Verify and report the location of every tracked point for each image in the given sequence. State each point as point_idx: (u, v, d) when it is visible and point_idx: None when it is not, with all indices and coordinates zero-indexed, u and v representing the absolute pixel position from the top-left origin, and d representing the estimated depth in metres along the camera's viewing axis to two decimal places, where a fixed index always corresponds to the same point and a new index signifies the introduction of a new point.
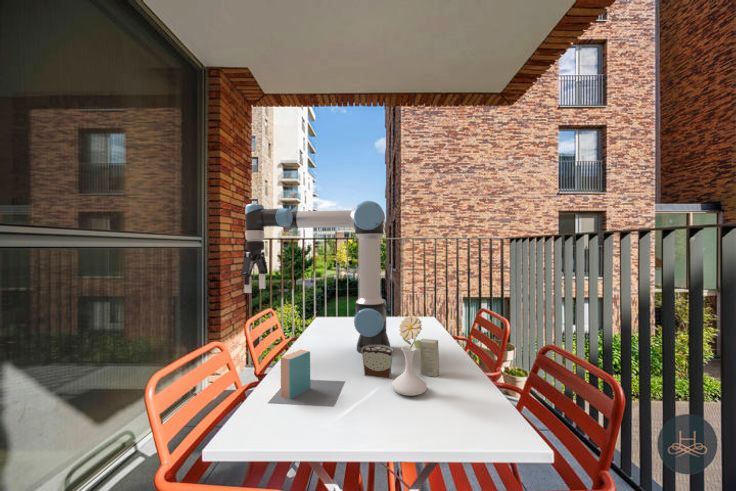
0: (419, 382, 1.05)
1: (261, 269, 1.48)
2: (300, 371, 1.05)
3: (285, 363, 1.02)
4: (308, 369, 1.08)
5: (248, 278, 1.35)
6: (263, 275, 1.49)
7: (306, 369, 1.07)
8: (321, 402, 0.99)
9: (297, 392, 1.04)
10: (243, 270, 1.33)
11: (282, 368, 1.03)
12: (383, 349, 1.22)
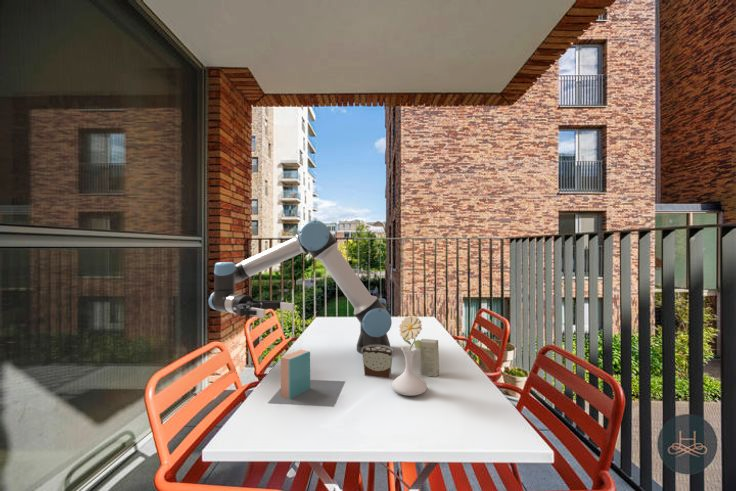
0: (419, 382, 1.05)
1: (274, 305, 1.26)
2: (300, 371, 1.05)
3: (285, 363, 1.02)
4: (308, 369, 1.08)
5: (250, 310, 1.13)
6: (281, 304, 1.25)
7: (306, 369, 1.07)
8: (321, 402, 0.99)
9: (297, 392, 1.04)
10: (239, 313, 1.14)
11: (282, 368, 1.03)
12: (383, 349, 1.22)
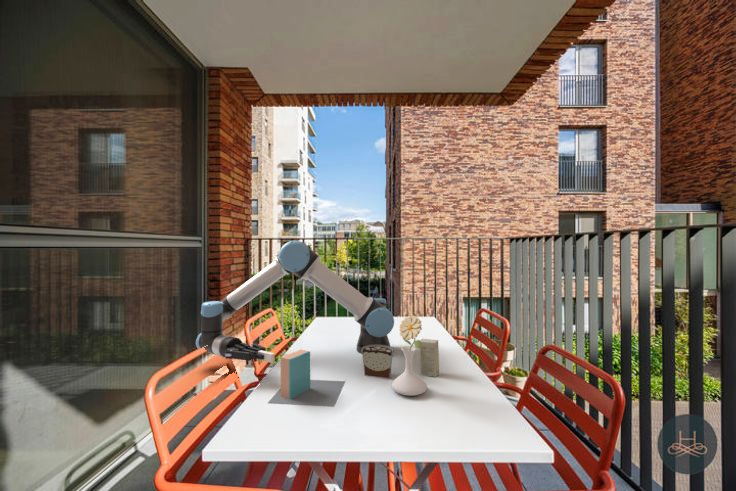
0: (419, 382, 1.05)
1: None
2: (300, 371, 1.05)
3: (285, 363, 1.02)
4: (308, 369, 1.08)
5: (257, 353, 1.13)
6: None
7: (306, 369, 1.07)
8: (321, 402, 0.99)
9: (297, 392, 1.04)
10: (245, 358, 1.13)
11: (282, 368, 1.03)
12: (383, 349, 1.22)
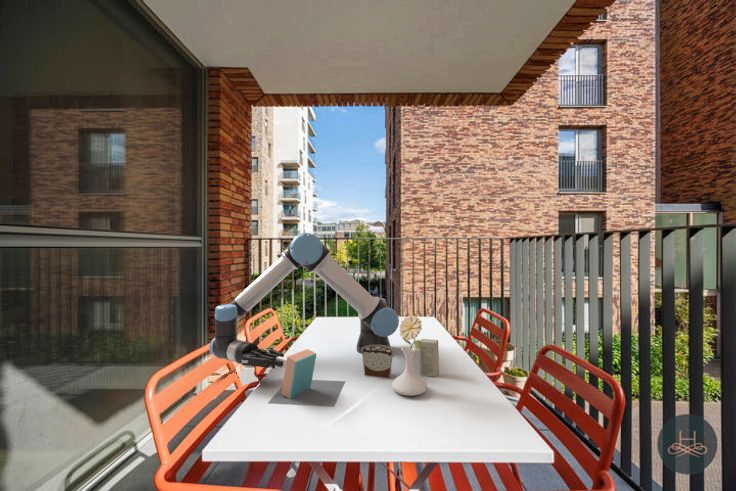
0: (419, 382, 1.05)
1: None
2: (304, 372, 1.04)
3: (291, 364, 1.01)
4: (311, 370, 1.07)
5: (276, 360, 1.08)
6: None
7: (309, 370, 1.06)
8: (321, 402, 0.99)
9: (297, 392, 1.03)
10: (263, 364, 1.07)
11: (287, 368, 1.02)
12: (383, 349, 1.22)
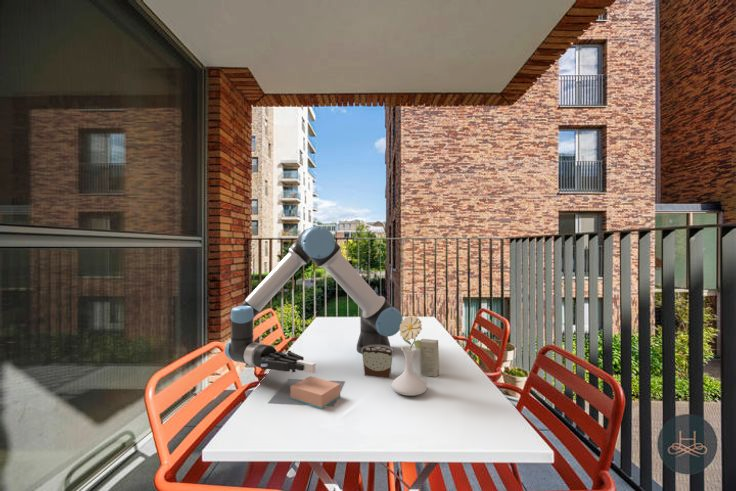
0: (419, 382, 1.05)
1: None
2: None
3: (317, 400, 0.96)
4: None
5: (296, 363, 1.04)
6: None
7: None
8: None
9: None
10: (283, 368, 1.03)
11: (312, 395, 0.97)
12: (383, 349, 1.22)
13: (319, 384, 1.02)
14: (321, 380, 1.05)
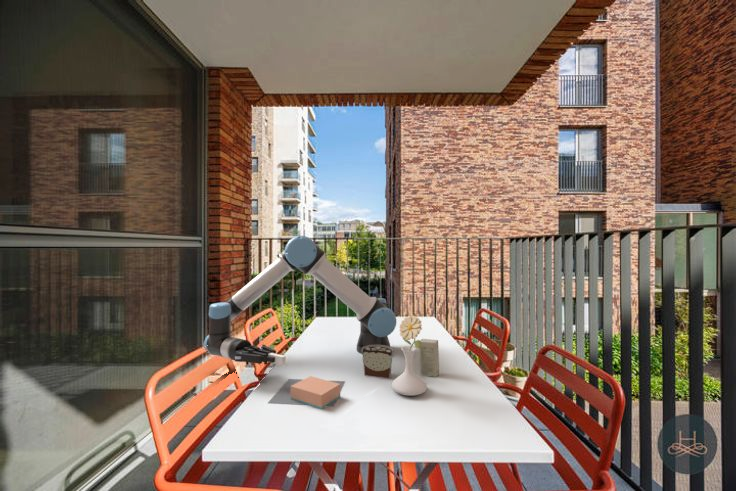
0: (419, 382, 1.05)
1: None
2: None
3: (317, 400, 0.96)
4: None
5: (268, 356, 1.11)
6: None
7: None
8: None
9: None
10: (255, 360, 1.10)
11: (312, 395, 0.97)
12: (383, 349, 1.22)
13: (319, 384, 1.02)
14: (321, 380, 1.05)
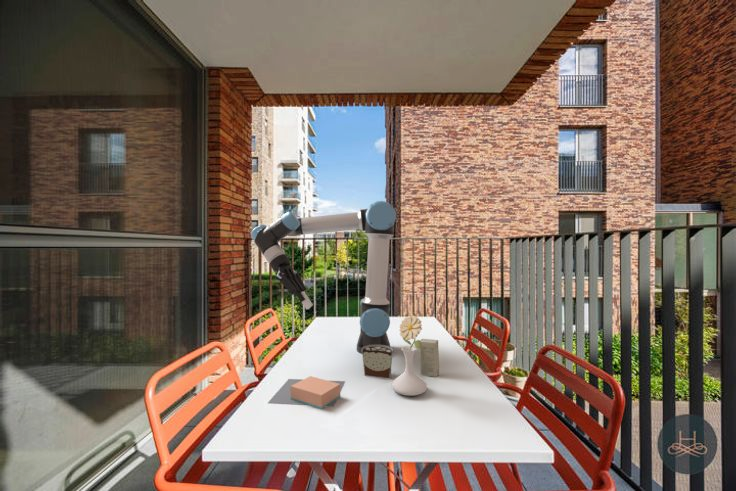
0: (419, 382, 1.05)
1: (297, 286, 1.31)
2: None
3: (317, 400, 0.96)
4: None
5: (300, 294, 1.28)
6: None
7: None
8: None
9: None
10: (290, 290, 1.27)
11: (312, 395, 0.97)
12: (383, 349, 1.22)
13: (319, 384, 1.02)
14: (321, 380, 1.05)
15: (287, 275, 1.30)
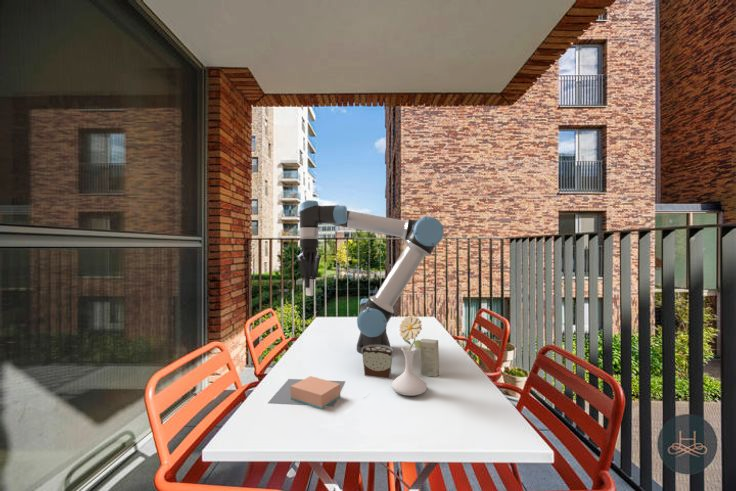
0: (419, 382, 1.05)
1: (310, 272, 1.39)
2: None
3: (317, 400, 0.96)
4: None
5: (308, 281, 1.37)
6: None
7: None
8: None
9: None
10: (301, 274, 1.35)
11: (312, 395, 0.97)
12: (383, 349, 1.22)
13: (319, 384, 1.02)
14: (321, 380, 1.05)
15: (307, 259, 1.36)
